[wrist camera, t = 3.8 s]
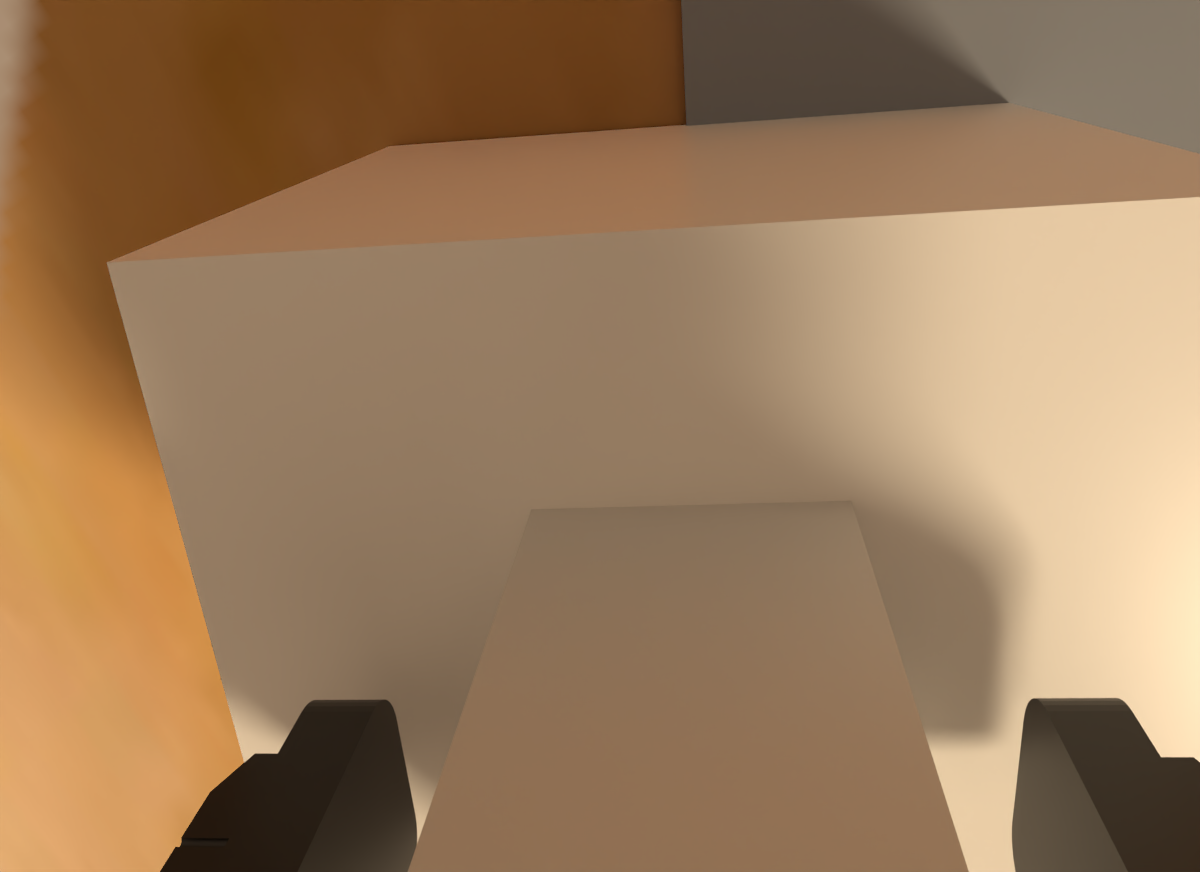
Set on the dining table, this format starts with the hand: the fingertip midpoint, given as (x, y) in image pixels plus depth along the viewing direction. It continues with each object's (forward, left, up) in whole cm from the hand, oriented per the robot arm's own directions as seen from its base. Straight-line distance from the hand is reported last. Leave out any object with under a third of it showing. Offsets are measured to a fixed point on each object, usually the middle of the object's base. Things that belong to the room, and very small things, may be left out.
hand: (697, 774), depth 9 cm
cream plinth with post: (0, 0, -10) cm, 10 cm away
